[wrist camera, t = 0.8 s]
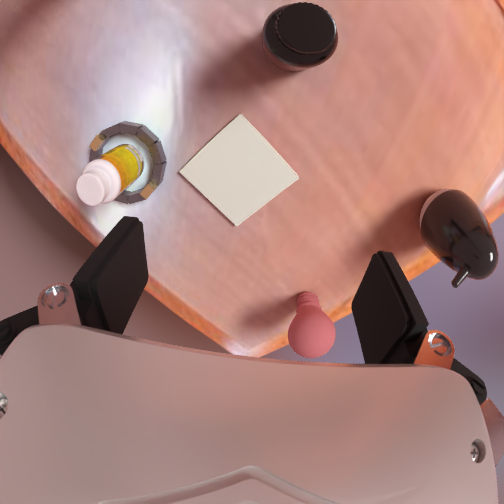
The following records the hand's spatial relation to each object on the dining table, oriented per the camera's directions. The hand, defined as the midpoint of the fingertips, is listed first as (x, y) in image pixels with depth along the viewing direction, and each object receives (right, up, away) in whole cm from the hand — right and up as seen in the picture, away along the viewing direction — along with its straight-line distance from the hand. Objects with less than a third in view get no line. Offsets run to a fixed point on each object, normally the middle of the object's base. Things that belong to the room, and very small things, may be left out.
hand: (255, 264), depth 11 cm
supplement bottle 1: (-17, +13, +24) cm, 32 cm away
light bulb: (+9, -7, +36) cm, 38 cm away
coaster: (-2, +11, +24) cm, 27 cm away
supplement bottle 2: (+5, +24, +15) cm, 29 cm away
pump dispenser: (+28, +7, +25) cm, 38 cm away
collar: (-17, +13, +24) cm, 32 cm away
